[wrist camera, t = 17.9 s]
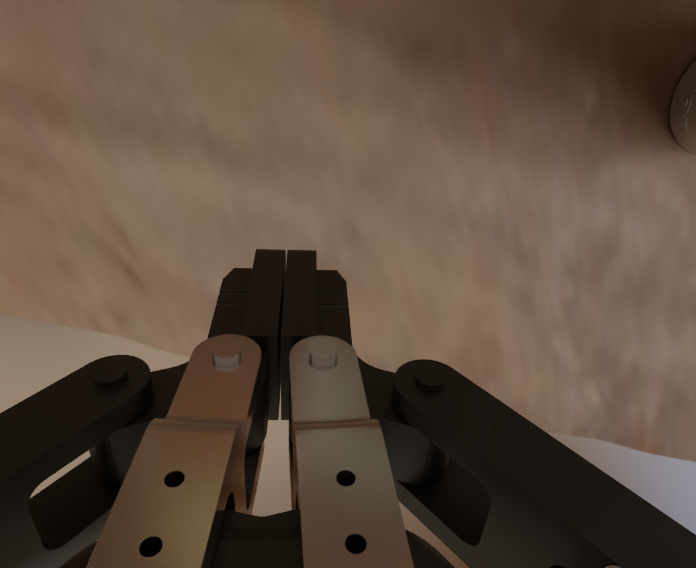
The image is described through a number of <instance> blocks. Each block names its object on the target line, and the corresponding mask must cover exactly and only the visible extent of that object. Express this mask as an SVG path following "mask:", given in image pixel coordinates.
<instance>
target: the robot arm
mask: <svg viewBox="0 0 696 568" xmlns="http://www.w3.org/2000/svg"><path fill="white" fill-rule="evenodd" d="M670 125H671V130H672V133H673V135H674V137H675V139H676V141H677V142H678V143H679V144H680V145H681V146H682V147H683V148H684V149H686V150H687V151H689V152H691V153H693V154H694V155H696V60H695V61H694V62H693V63H692V64H691V65H690V67H689V68H688V69H687V71H686V72H685V74H684V75H683V77H682V78H681V80H680V81H679V84H678V86H677V88H676V90H675V93H674V95H673V99H672V103H671V107H670ZM280 389H281V419H282V420H289V465H290V486H291V507H292V510H291V511H287V512H283V513H278V514H274V515H270V516H265V517H259V516H254V515H252V512H253V506H254V501H255V496H256V491H257V485H258V480H259V475H260V470H261V464H262V459H263V454H264V439H265V437H266V433H267V425H268V420H278V417H279V402H280ZM88 450H89V451H90V455H91V457H89V458H88V459H87V460H85V461H84V462H82V463H81V464H79V465H78V466H76V467H75V468H73V469H72V470H71V471H69V472H68V473H66V474H65V475H64V476H62V477H61V478H59V479H58V480H56V481H55V482H53V483H52V484H51V485H49V486H48V487H46V488H45V489H43V490H42V491H40V493H38V494H36V495H35V496H33V497H32V498H30V496H31V494H32V493H33V491H34V490H35V488H36V487H37V486H38V485H39V484H40V483H41V482H43V481H44V480H45V479H47V478H48V477H50V476H51V475H53V474H54V473H56V472H57V471H59V470H60V469H62V468H63V467H64V466H66V465H67V464H69V463H70V462H72V461H73V460H75V459H76V458H77V457H79V456H80V455H82V454H83V453H85V452H86V451H88ZM398 500H399V501H400V502H401V503H402V504H403V505H404V506H405V507H406V508H407V509H408V510H409V511H410V512H411V513H412V514H414V515H415V516H416V517H417V518H418V519H419V520H420V521H421V522H422V523H423V524H424V525H425V526H426V527H427V528H428V529H429V530H430V531H432V533H434V534H435V535H436V536H437V537H438V538H439V539H440V540H441V541H442V542H443V543H444V544H445V545H446V546H447V547H448V548H449V549H451V551H452V552H453V553H455V554H456V555H457V556H458V557H459V558H460V559H461V560H462V561H463V562H464V563H465V564H466V565H467V566H468V567H469V568H696V535H695V534H693V533H692V532H691V531H689V530H687V529H686V528H685V527H683V526H682V525H680V524H679V523H677V522H676V521H674V520H673V519H671V518H670V517H669V516H667V515H666V514H664V513H663V512H661V511H660V510H658V509H657V508H655V507H654V506H652V505H651V504H650V503H648V502H647V501H645V500H644V499H642V498H641V497H639V496H638V495H637V494H635V493H634V492H632V491H630V490H629V489H628V488H626V487H624V486H623V485H622V484H620V483H619V482H618V481H616V480H615V479H613V478H612V477H610V476H609V475H607V474H606V473H604V472H603V471H602V470H600V469H599V468H597V467H596V466H594V465H593V464H591V463H590V462H588V461H587V460H585V459H584V458H583V457H581V456H579V455H578V454H577V453H575V452H574V451H572V450H571V449H569V448H568V447H566V446H565V445H564V444H562V443H561V442H559V441H557V440H556V439H554V438H553V437H552V436H550V435H549V434H548V433H546V432H545V431H543V430H542V429H540V428H539V427H537V426H536V425H534V424H533V423H531V422H530V421H529V420H527V419H526V418H524V417H523V416H521V415H520V414H518V413H517V412H515V411H514V410H513V409H511V408H510V407H508V406H507V405H505V404H504V403H502V402H501V401H499V400H498V399H496V398H495V397H494V396H492V395H491V394H489V393H488V392H486V391H485V390H483V389H482V388H480V387H479V386H477V385H476V384H475V383H473V382H472V381H470V380H469V379H467V378H466V377H464V376H463V375H461V374H460V373H459V372H457V371H456V370H454V369H453V368H451V367H449V366H448V365H446V364H443V363H441V362H437V361H433V360H425V359H423V360H413V361H410V362H407V363H405V364H403V365H402V366H400V367H399V368H398V370H397V371H396V373H393V372H389V371H385V370H381V369H378V368H375V367H373V366H370V365H368V364H367V363H365V362H364V361H362V360H361V359H360V358H359V357H358V356H357V354H356V352H355V350H354V348H353V347H352V339H351V328H350V318H349V307H348V297H347V286H346V281H345V280H344V279H343V277H342V276H341V275H340V274H339V273H338V271H337V270H317V267H316V251H311V250H288V252H287V265H286V252H285V250H270V249H256V253H255V258H254V264H253V269H252V268H234V269H233V270H232V271H231V272H230V273H229V274H228V275H227V276H226V277H225V278H224V279H223V281H222V285H221V288H220V294H219V296H218V300H217V305H216V308H215V312H214V315H213V319H212V323H211V327H210V331H209V335H208V339H207V340H205V341H203V342H201V343H200V344H199V345H198V346H197V347H196V348H195V349H194V351H193V353H192V355H191V357H190V360H189V361H188V362H186V363H184V364H182V365H179V366H176V367H172V368H168V369H163V370H158V371H153V372H150V369H149V366H148V365H147V364H146V363H145V362H144V361H143V360H141V359H139V358H137V357H134V356H129V355H113V356H107V357H104V358H100V359H97V360H95V361H93V362H91V363H89V364H87V365H85V366H84V367H82V368H80V369H78V370H77V371H75V372H73V373H71V374H69V375H68V376H66V377H64V378H62V379H60V380H59V381H57V382H55V383H53V384H52V385H50V386H48V387H47V388H44V389H43V390H41V391H39V392H37V393H36V394H34V395H32V396H31V397H29V398H27V399H25V400H23V401H21V402H20V403H18V404H16V405H14V406H13V407H11V408H9V409H7V410H5V411H4V412H2V413H0V568H454V567H453V566H452V565H451V564H450V563H449V561H447V560H446V558H445V557H444V556H443V555H442V554H441V553H439V552H438V551H437V550H436V549H435V548H434V547H432V546H431V545H430V544H429V543H428V542H426V541H425V540H423V539H422V538H420V537H419V536H417V535H415V534H414V533H411V532H410V531H407V530H405V527H404V523H403V519H402V515H401V510H400V506H399V502H398ZM96 540H97V541H96Z"/></svg>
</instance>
